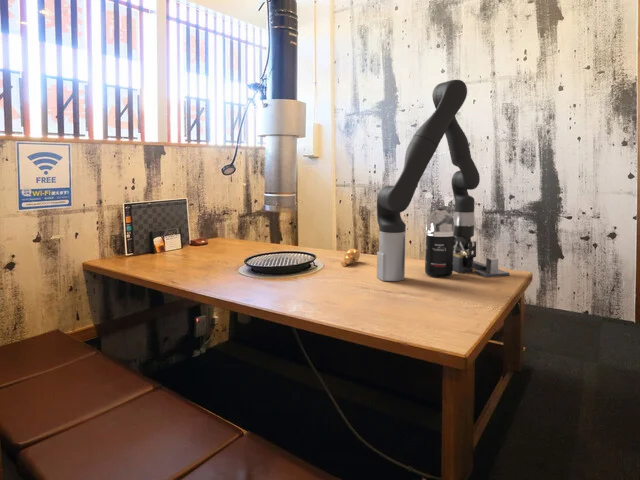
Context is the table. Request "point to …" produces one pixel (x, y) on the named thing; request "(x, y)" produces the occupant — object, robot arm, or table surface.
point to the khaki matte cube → (461, 263)
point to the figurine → (350, 257)
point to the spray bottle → (439, 244)
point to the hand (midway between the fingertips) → (462, 265)
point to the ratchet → (488, 268)
